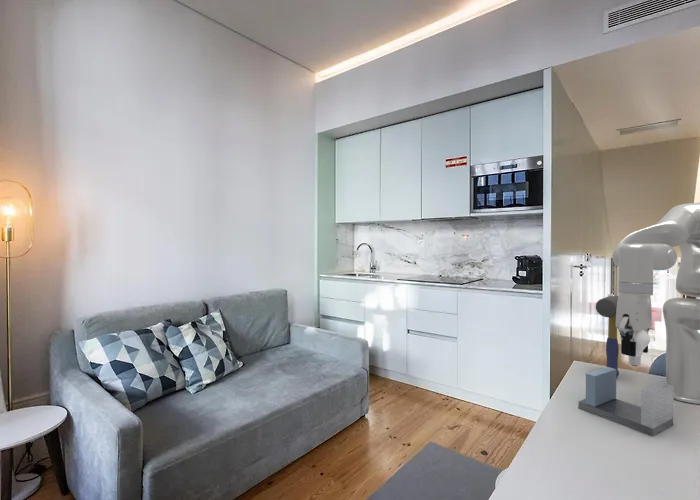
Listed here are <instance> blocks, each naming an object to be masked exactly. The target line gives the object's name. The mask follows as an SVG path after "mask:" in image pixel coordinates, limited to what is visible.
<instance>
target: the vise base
mask: <svg viewBox="0 0 700 500" xmlns="http://www.w3.org/2000/svg"><path fill="white" fill-rule="evenodd" d="M640 394H641V398H640V399H641V400H640V405H641V406H639V405H636V404H632V403H629V402H627V401H624V400H622V399H621V400H620V399H618V398H615V399H613V400H610V401H608V402H605V403H603V404H600V405H598V406H596V407H594V406H591V405H589V404H586V398H584V399H581V400H578V404H577V405H578V406H577V408H578V409H580V410H582V411H585V412H587V413H590V414H593V415H595V416H597V417H600V418H604V419H606V420H608V421H612V422H614V423H616V424H618V425H621V426H625V427H626V428H630V429H632V430H635V431H637V432H640V433H643V434H645V435H647V436H651V437H654V436H657V435H658V434H660V433H662V432H664V431H665V430H667V429H669V428H671V427H672V426H674V400H675V399H674V384H670V383H666V381H660V382H657V383H655V384H652V385H650V386H648V387H644V388H642V389H641V392H640Z"/></svg>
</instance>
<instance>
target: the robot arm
mask: <svg viewBox="0 0 700 500" xmlns="http://www.w3.org/2000/svg"><path fill="white" fill-rule="evenodd" d="M674 247H679V250H680V254H681V257H680V262H679V267H678V271H677V274H676V275H677V276H676V278H675V279H676V280H675V289H676V291H677V292H678V293H679V294H681V295H683V296H687V297H673V298H669V299H667V300H665V302H664V303H663V305H662V316H663V320H664V325H665V336H666V337H665V338H666V339H665V342H666V344H665V345H666V346H665V354H666V355H665V382H666V383H670V384H674V400H677V401H678V402H679V401H680V402H684V403H688V404H695V405H700V332H699V331H700V202H693V203H692V202H689V203H682V204H678V205H675V206H673V207H672V208H671V209H669V210H668V211H667V213H666V214H665V215H664V216H662V217H661V219H660V220H659V221H658V222H656V224H652V225H650V226H647V227H644V228H642V229H640V230H636V231H633V232H631V233H629V234H628V235H626V236H625V237H623V238H622V239H621V240H620V241H619V242H618V243H617V245H616V246H615V248H614V249H613V251H612V261H613V263H614V264H615V265H616V266H617V268H618V273H617V274H618V276H617V278H618V283H617V285H618V286H617V287H618V288H617V290H618V291H617V293H618V295H617V296H618V301H617V309H616V327H617V329H618V330H617V331H618V332H619V335H621V337H620V342H621V343H620V352H621V354H622V355H624V356H628V357H629V356H632V357H635V356H636V342H634V339H635V335H636V331H640V330H645V331H646V332H647V333H648V335H649V331H650V328H651V326H652V322H653V321H652V318H653V317H652V316H653V315H652V314H653V313H652V309H653V308H652V299H651V297H652V296H654V271H666V270H670V269H671V268H673V267H674V266H675V265H676V263H677V261H678V254H677V251H676V250H675V248H674ZM690 297H692V298H690ZM627 327H629V328H632V329H633V330H631V329H627ZM629 332H631V336H630V334H629ZM649 336H650V335H649ZM647 353H649V345H648V346H647V347H646V348H645V349H644V350H643V353H642V354H647Z"/></svg>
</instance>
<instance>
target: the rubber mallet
mask: <svg viewBox="0 0 700 500" xmlns="http://www.w3.org/2000/svg"><path fill="white" fill-rule="evenodd" d="M618 296H619V295H611V296H606V297H603V298H600V299H599V300H598V301H597V302H596V304H595V310H596V312H597V313H598V314H599V315H600V316H601V317H604V318H608V324H607V325H608V330H607V331H608V332H607V333H608V334H607V338H606V342H605V343H606V344H605V353H606V367H610V368H614V369H616V379H618V377H619V375H620V374H619V373H620V372H619V370H618V367H619V366H618V364H619V363H618V359H619V350H620V349H619V348H620V346H619V341H618V330H617V329H618V328H617V327H616V309H617V301H618Z"/></svg>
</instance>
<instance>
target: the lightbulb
mask: <svg viewBox="0 0 700 500" xmlns="http://www.w3.org/2000/svg"><path fill="white" fill-rule="evenodd" d="M627 329H631V330H633V329H632V328H629V327H627ZM629 334H630V336H631V332H629ZM648 334H649V332H648V333H647V332H646V331H645V330H640V331H636V335H635V339H634V342H636V356H635V357H632V356H628V357H627V358H628V363H627V364H630V365H631V366H632V367H638V366H639V367H640V366H641V365H642V363H641V362H642V359H641V358H642V355H643V354H644V353H643V350H644V349H645V348H646V347H647V346H648V347H649V344H650V342H651V341H650V340H651V338H650V335H648ZM619 335H620V334H619ZM620 338H621V335H620Z"/></svg>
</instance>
